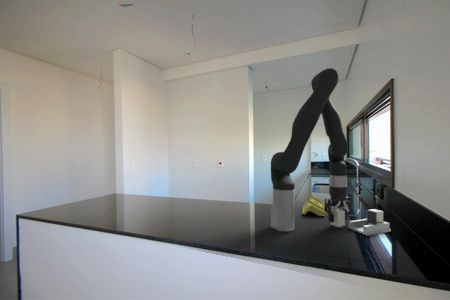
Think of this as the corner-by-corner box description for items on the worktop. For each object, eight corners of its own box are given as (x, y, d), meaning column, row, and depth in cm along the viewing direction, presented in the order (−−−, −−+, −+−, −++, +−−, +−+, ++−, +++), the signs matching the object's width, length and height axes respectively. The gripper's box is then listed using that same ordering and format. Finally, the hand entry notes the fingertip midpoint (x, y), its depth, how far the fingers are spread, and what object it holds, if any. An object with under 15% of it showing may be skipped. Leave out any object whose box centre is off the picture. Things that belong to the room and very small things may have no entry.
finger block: (338, 227, 101) (338, 211, 101) (330, 225, 105) (330, 209, 105) (345, 226, 103) (345, 210, 103) (338, 223, 107) (338, 208, 107)
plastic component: (327, 213, 116) (308, 203, 119) (320, 225, 118) (301, 215, 121) (324, 202, 135) (308, 194, 138) (318, 212, 136) (302, 204, 139)
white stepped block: (367, 235, 92) (367, 215, 92) (347, 228, 100) (348, 210, 100) (390, 231, 97) (390, 212, 97) (370, 225, 105) (370, 207, 105)
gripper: (333, 187, 98) (333, 225, 98) (356, 185, 104) (357, 221, 104) (319, 185, 105) (320, 220, 105) (342, 183, 111) (342, 216, 111)
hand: (338, 220), depth 104 cm, fingers open, 8 cm apart
